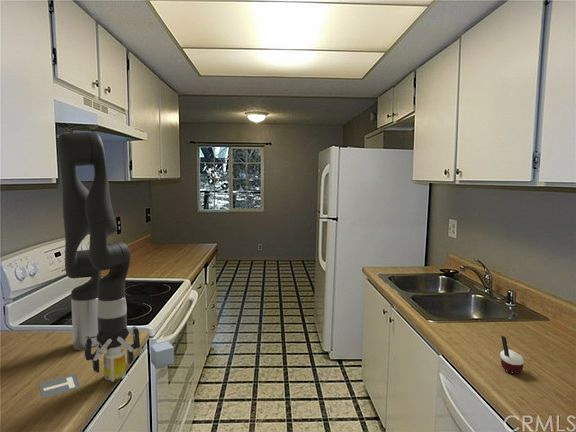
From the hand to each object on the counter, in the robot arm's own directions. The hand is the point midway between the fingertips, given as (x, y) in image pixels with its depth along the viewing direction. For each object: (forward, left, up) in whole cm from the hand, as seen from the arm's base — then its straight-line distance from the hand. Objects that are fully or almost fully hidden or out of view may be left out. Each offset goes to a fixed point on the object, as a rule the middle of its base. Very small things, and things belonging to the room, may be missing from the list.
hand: (113, 367), depth 109 cm
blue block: (-15, +4, -4) cm, 15 cm away
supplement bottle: (-1, 0, -4) cm, 4 cm away
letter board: (+10, -9, -4) cm, 14 cm away
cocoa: (-70, +100, -4) cm, 122 cm away
